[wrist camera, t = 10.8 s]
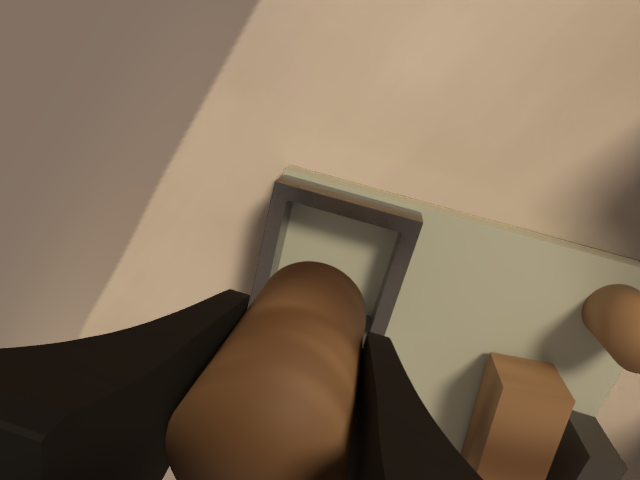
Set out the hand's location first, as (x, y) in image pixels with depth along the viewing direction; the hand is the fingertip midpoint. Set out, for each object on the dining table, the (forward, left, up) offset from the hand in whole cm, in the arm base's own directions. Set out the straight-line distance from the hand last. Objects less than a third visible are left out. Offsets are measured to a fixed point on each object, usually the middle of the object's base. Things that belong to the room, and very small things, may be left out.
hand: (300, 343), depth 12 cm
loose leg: (0, 0, -2) cm, 2 cm away
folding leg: (-10, +7, -7) cm, 14 cm away
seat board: (-5, +5, -8) cm, 11 cm away
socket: (0, 0, -7) cm, 7 cm away
